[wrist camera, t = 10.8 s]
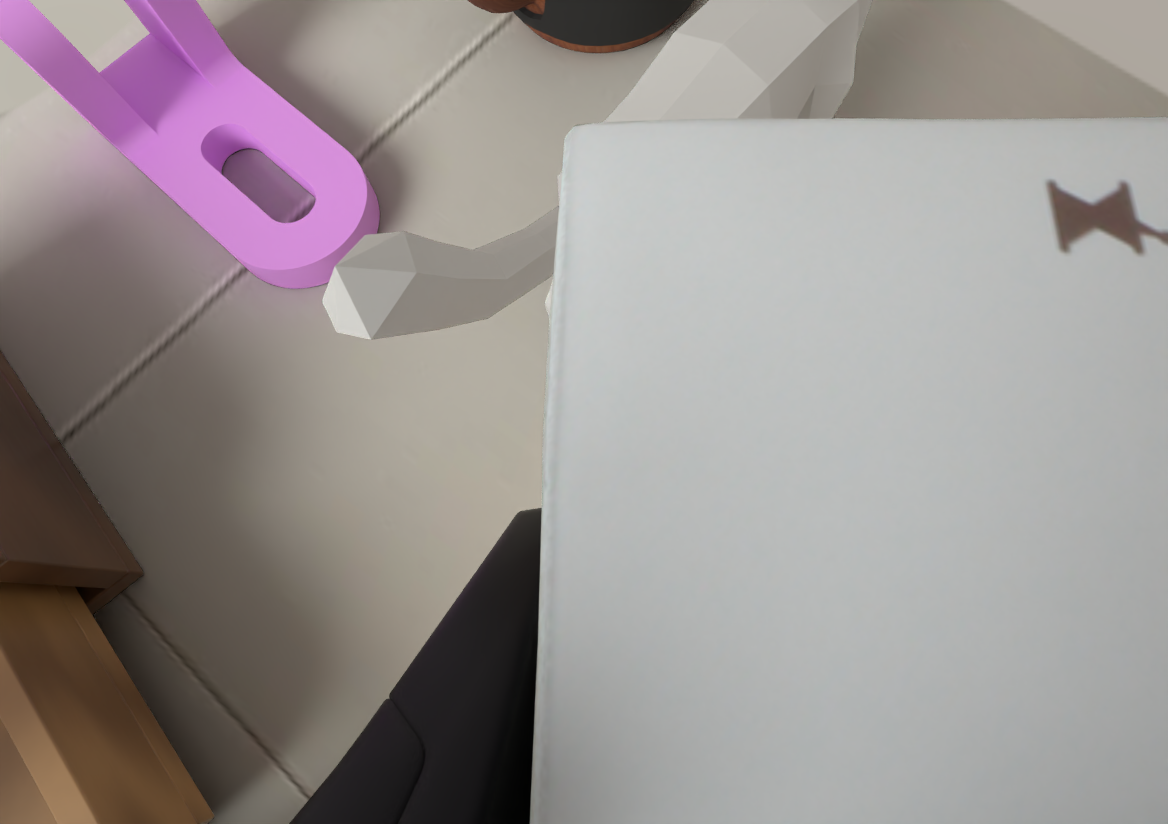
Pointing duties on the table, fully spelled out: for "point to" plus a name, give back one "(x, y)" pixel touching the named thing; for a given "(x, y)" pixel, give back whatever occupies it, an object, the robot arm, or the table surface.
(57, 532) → the cabinet
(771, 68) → the cat figurine
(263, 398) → the table surface
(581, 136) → the cosmetic box
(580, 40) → the mug
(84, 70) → the bracket
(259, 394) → the table surface
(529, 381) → the table surface
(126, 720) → the drawer
